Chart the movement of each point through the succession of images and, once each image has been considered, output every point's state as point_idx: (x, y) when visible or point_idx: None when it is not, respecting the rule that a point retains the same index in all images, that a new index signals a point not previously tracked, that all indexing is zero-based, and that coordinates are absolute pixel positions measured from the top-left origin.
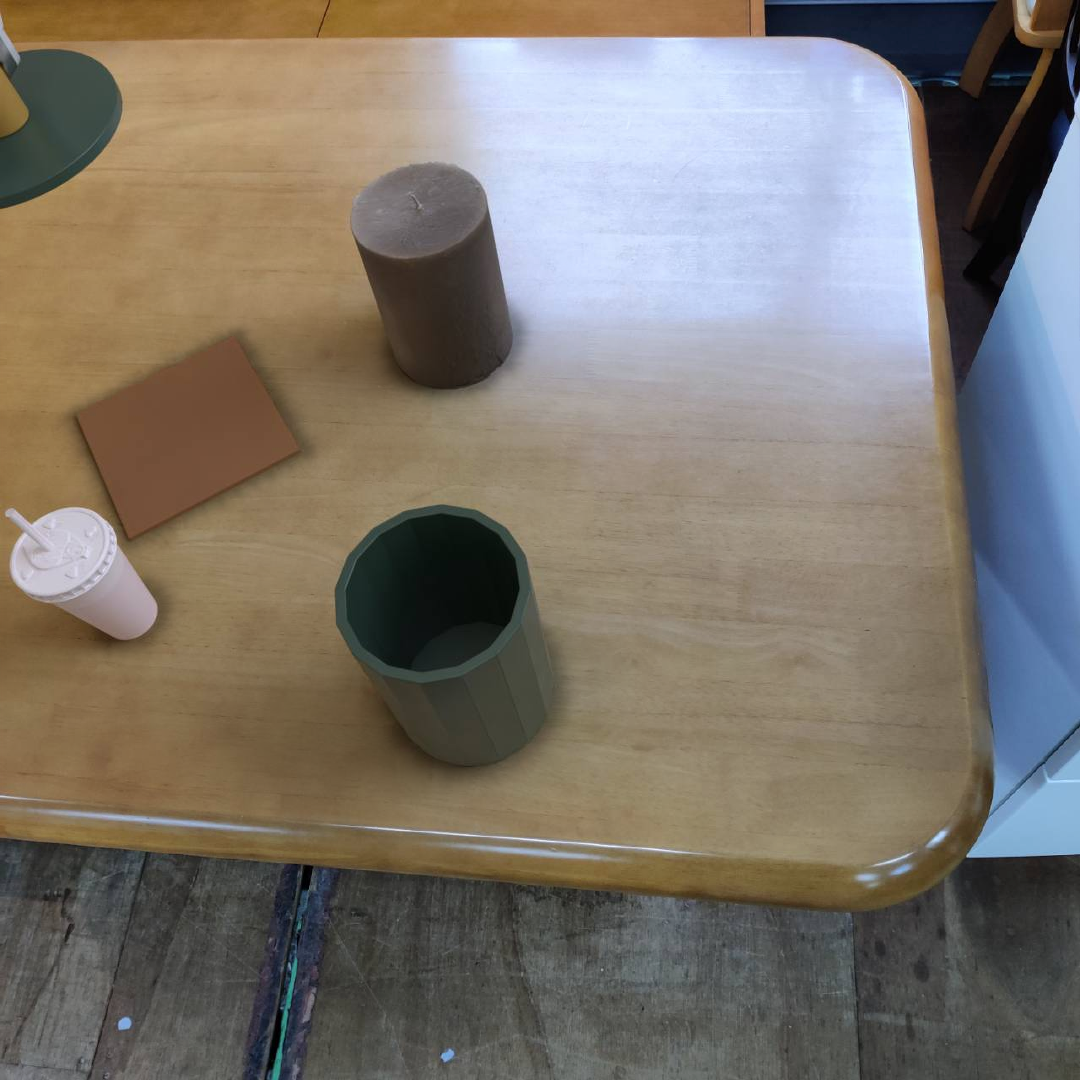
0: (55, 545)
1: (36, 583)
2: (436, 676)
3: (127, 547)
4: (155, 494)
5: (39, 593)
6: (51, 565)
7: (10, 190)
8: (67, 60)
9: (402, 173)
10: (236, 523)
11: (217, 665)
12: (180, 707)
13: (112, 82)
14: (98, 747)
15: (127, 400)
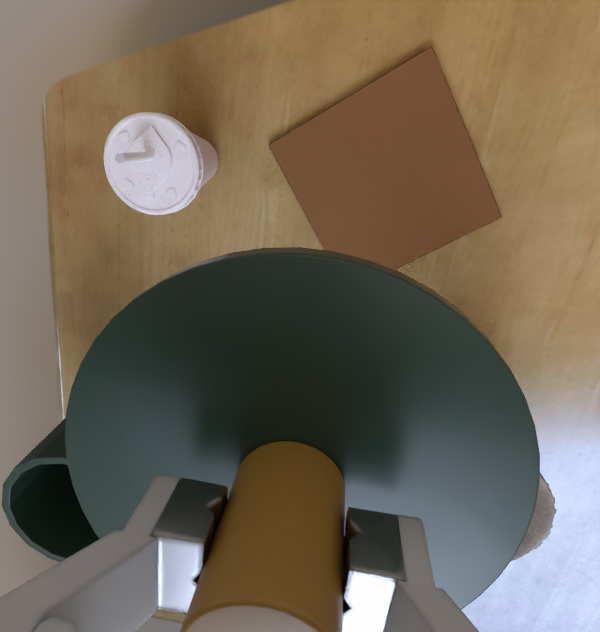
0: (152, 162)
1: (115, 149)
2: (7, 514)
3: (264, 141)
4: (314, 163)
5: (104, 156)
6: (130, 163)
7: (97, 523)
8: (462, 575)
9: (542, 504)
10: (281, 240)
11: (157, 239)
12: (123, 215)
13: None
14: (88, 153)
15: (437, 108)
